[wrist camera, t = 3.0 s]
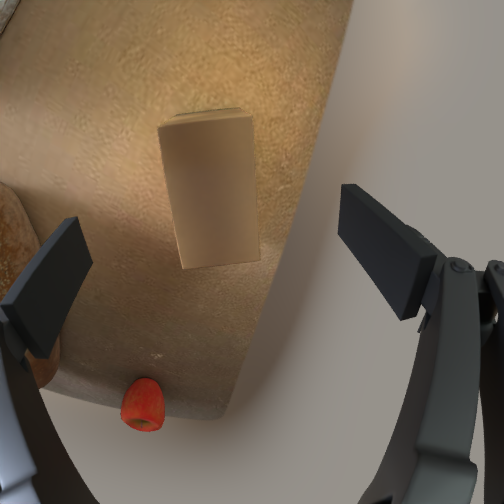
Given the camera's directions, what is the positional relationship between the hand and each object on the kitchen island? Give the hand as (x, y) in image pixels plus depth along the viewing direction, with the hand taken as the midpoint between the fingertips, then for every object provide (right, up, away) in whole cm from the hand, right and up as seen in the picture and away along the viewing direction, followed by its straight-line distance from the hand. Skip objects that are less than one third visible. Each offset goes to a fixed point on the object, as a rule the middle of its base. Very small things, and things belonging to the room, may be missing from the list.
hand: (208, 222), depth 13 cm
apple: (-13, -20, +24) cm, 34 cm away
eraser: (-1, +6, +9) cm, 11 cm away
